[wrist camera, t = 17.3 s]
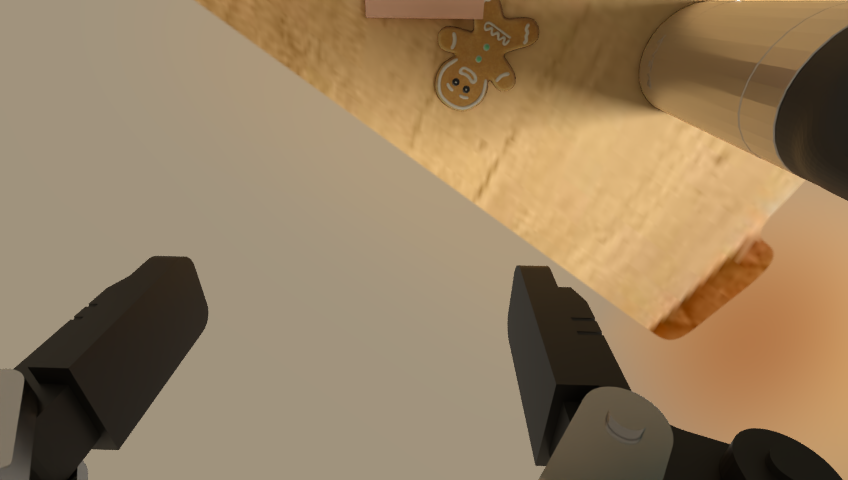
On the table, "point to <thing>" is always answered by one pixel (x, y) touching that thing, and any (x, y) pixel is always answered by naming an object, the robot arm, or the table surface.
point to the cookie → (481, 56)
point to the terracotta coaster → (425, 9)
